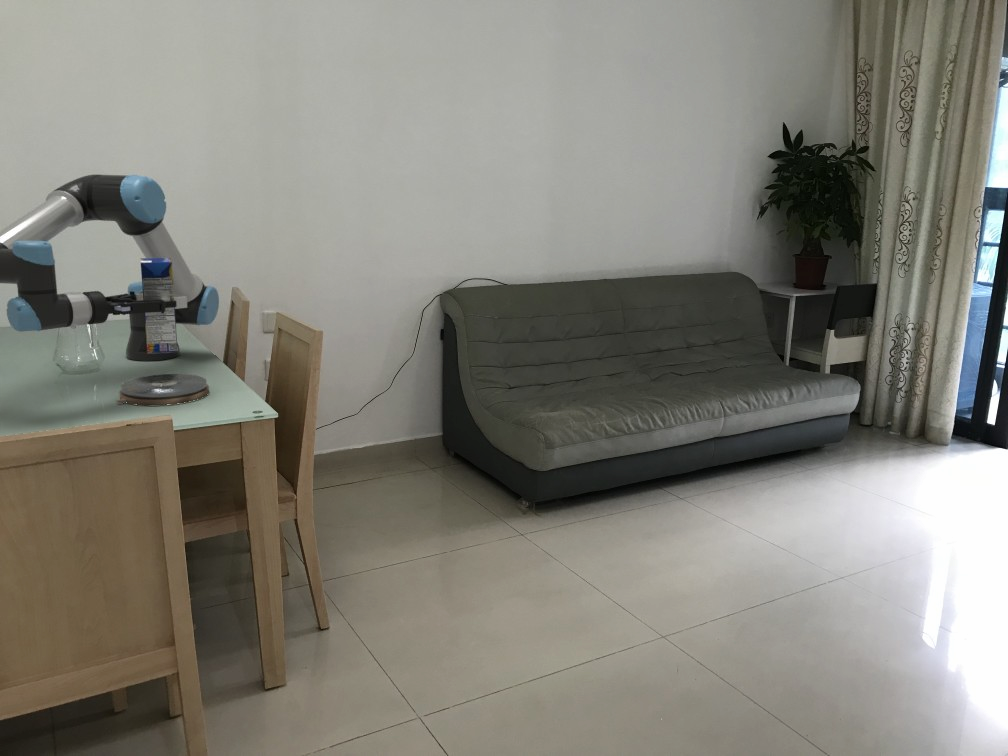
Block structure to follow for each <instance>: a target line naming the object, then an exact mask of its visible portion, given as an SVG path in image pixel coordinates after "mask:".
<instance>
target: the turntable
mask: <svg viewBox="0 0 1008 756" xmlns="http://www.w3.org/2000/svg"><path fill="white" fill-rule="evenodd" d="M207 385H208V384H207V379H206V378H204V377H203V376H199V375H195V374H187V373H185V374H184V373H163V374H154V375H153V374H152V375H145V376H140V377H134V378H132V379H131V378H130V379H129V380H126V381H125V382H122V384H121V385H120V390H121V393H122V394H123V395H125V396H127V397H131V398H137V399H169V398H178V397H184V396H189V395H193V394H196V393H199V392H202V391H203V390H205V389H206V388H207Z"/></svg>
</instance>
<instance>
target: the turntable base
mask: <svg viewBox="0 0 1008 756" xmlns="http://www.w3.org/2000/svg"><path fill="white" fill-rule="evenodd" d="M209 386H210V385H209V384H207V388H206V389H205V390H203V391H202V392H199V393H196V394H193V395H189V396H184V397H178V398H169V399H137V398H131V397H127V396H125V395H123V394H122V393H121V389H120V390H119V392H118V393H119V395H118V396H119V399H116V405H118V404H121V405H123V404H122V403H126V402H127V403H130V404H129V405H131V404H137V405H167V404H177V403H184V402H189V401H193V400H197V399H200V398H202V397H204V396H206V395H207V394H208V393H209V394H210V387H209ZM209 394H208V395H209ZM208 395H207V396H208ZM207 396H206V397H207ZM204 398H205V397H204ZM202 399H203V398H202ZM200 400H201V399H200ZM197 401H198V400H197ZM193 402H194V401H193ZM127 403H126V404H127ZM189 403H190V402H189ZM184 404H185V403H184ZM137 405H136V406H137ZM177 405H178V404H177Z"/></svg>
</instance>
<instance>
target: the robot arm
mask: <svg viewBox="0 0 1008 756" xmlns="http://www.w3.org/2000/svg"><path fill="white" fill-rule="evenodd" d="M165 200H166V195H165V193H164V191H163V189H162V187H161V185H160V184H158V182H157V181H156V180H154V179H153V178H151V177H148V176H145V175H143V176H141V175H137V174H129V175H123V174H120V175H119V174H118V175H117V174H87V175H84V176H81V177H77V178H76V179H73V180H70V181H69V182H66V183H65V184H63V185H60V186H59V187H57V188H55V189H54V190H52V191H51V192H50V193H48V195H47V196H46V198H45V201H44V202H43V203H41V204H39V205H38V206H37V207H35V208H34V209H32V210H31V211H28V212H27V213H26V214H25V215H23V216H21V217H20V218H18V219H16V221H14V222H12V223H10V224H9V225H7V226H6V227H5V228H3V229H2V230H0V284H6V285H7V284H11V285H16V286H17V296H15V297H13V298H10V299H9V300H8V301H7V304H6V307H7V309H6V317H7V321H8V323H9V324H10V326H11V328H12V329H14V331H17V332H18V333H19V332H20V333H21V332H32V331H33V332H34V331H35V332H40V331H48V330H53V329H55V330H56V329H62V328H68V327H70V328H71V329H73V330H74V329H75V330H76V328H77V326H84V325H85V326H86V325H90V326H91V325H97V324H98V325H100V324H103V323H105V322H107V320H108V318H109V315H110V314H111V315H113V316H120V315H122V316H125V315H128V317H129V325H130V326H129V327H130V335H129V338H128V341H127V345H126V349H125V355H126V359H129V360H131V361H140V362H141V361H142V362H143V361H144V362H145V361H146V362H149V361H153V362H154V361H163V360H169V359H174V358H176V357H179V356H180V355H181V351H180V349H181V348H180V346H179V343H178V342H177V349H178V352H169V353H149V354H147V341H146V327H145V314H144V313H150V312H161V314H164V312H165V310H170V309H171V307H175V319H176V325H179V324H180V325H191V326H192V325H193V326H207V325H210V324H212V323H213V322H214V321H215V319H216V318H217V315H218V311H219V307H220V299H219V298H220V297H219V293H218V292H219V291H218V290H217V288H216V287H214V286H211V285H205V284H204V282H203V280H202V279H201V278H200V276H198V275H197V274H194V273H192V271H191V270H190V268H189V266H188V265H187V263H186V261H185V259H184V258H183V256H182V254H181V252H180V251H179V249H178V247H177V245H176V243H175V242H174V240H173V238H172V237H171V235H170V233H169V231H168V230H167V227H166V226H165V224H164V222H163V221H164V219H165V215H166V213H167V202H166V201H165ZM89 221H90V222H91V221H104V222H115V223H116V224H117V225H118V227H119V229H120V230H121V231H122V233H123V234H125V235H127V236H130V237H132V238H133V240H134V241H135V243H136V244H137V246H138V248H139V249H140V251H141V252H142V254H143V257H145V258H170V259H171V262H172V274H173V289H174V301H170V298H166V299H160V300H143V288H142V281H138V282H133V283H130V284H129V285H128V286H127V293H123V294H117V295H116V294H115V295H110V296H105V295H104V293H102V292H101V291H99V290H93V291H83V292H80V291H79V292H68V293H66V292H65V293H60V294H58V289H57V287H58V286H57V277H56V276H57V274H56V265H55V264H56V262H55V258H54V253H53V246H52V244H51V242H49V241H50V240H52V239H53V238H54V237H56V236H57V235H59V234H61V232H63V231H64V230H66V229H68V228H74V227H77V226H79V225H80V224H81V223H84V222H89Z"/></svg>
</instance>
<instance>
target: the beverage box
mask: <svg viewBox="0 0 1008 756" xmlns="http://www.w3.org/2000/svg"><path fill="white" fill-rule="evenodd" d="M140 270H141V272H140V273H141V282H142V288H143V300H160V299H166V298H170V301H174V289H173V274H172V262H171V259H170V258H146V257H145V258H143V257H141V258H140ZM144 314H145V327H146V341H147V354H149V353H169V352H178V349H177V343H178V337H177V334H178V333H177V324H176V319H175V307H171V309H170V310H165V312H164V314H161V312H150V313H144Z"/></svg>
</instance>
